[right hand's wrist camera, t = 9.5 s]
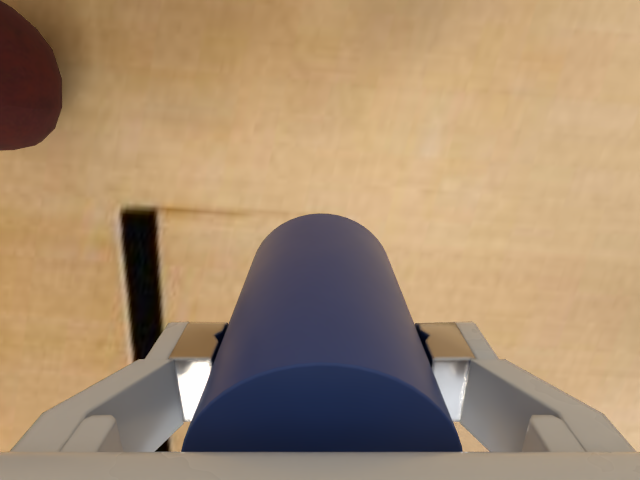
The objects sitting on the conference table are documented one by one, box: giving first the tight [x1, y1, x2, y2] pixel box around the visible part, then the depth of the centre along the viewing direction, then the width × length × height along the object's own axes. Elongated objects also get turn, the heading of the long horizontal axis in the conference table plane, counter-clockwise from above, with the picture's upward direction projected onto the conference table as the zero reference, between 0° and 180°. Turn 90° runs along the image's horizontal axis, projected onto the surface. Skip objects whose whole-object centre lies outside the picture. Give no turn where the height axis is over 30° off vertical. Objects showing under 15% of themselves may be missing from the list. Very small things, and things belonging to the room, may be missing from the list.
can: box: [181, 214, 463, 452], centre depth 10 cm, size 5×5×8 cm
